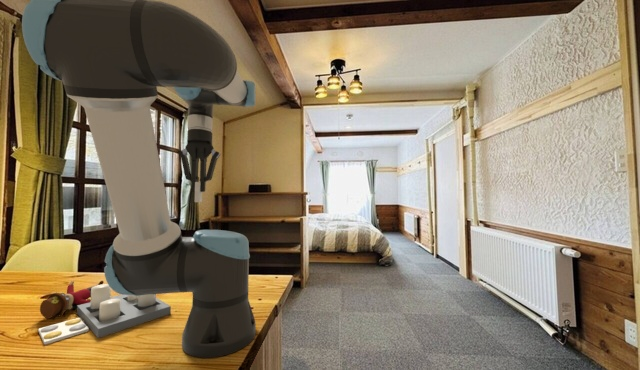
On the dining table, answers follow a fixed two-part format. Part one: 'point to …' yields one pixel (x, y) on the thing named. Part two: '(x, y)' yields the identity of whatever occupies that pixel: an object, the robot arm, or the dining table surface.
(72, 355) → the dining table surface
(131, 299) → the button far right
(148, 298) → the button near right
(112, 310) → the button near left
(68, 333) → the card
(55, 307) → the toy
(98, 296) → the button far left
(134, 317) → the board
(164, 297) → the dining table surface
